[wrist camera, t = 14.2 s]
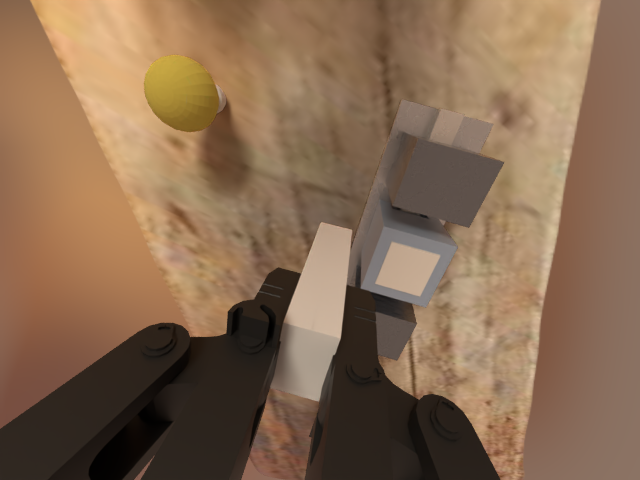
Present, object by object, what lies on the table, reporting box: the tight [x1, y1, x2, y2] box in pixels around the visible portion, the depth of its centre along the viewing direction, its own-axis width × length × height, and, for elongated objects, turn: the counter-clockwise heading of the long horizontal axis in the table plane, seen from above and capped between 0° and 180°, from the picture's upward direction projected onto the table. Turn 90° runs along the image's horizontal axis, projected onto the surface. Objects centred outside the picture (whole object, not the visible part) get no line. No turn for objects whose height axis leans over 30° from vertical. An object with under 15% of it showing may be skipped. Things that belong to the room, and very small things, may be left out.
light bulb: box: [144, 55, 226, 132], centre depth 28 cm, size 7×7×10 cm
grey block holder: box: [346, 99, 504, 360], centre depth 32 cm, size 30×10×10 cm, turn 166°
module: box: [361, 200, 458, 307], centre depth 31 cm, size 8×7×9 cm
